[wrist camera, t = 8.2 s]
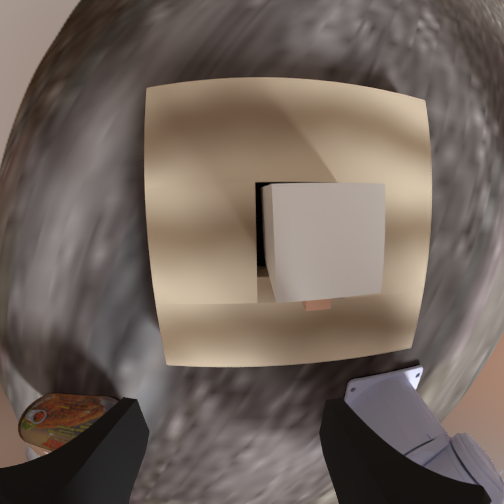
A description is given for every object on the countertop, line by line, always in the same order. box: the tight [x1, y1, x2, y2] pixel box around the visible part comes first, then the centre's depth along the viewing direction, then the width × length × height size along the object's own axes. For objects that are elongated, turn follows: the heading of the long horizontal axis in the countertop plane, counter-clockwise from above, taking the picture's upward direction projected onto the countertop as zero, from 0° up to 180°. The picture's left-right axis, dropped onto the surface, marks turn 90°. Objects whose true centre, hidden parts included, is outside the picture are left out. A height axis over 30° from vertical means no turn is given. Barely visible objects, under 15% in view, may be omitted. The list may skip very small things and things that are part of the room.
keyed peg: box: [261, 183, 385, 311], centre depth 14 cm, size 4×6×8 cm
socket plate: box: [144, 77, 432, 367], centre depth 16 cm, size 18×18×2 cm
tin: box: [18, 393, 119, 456], centre depth 17 cm, size 15×3×8 cm, turn 102°
